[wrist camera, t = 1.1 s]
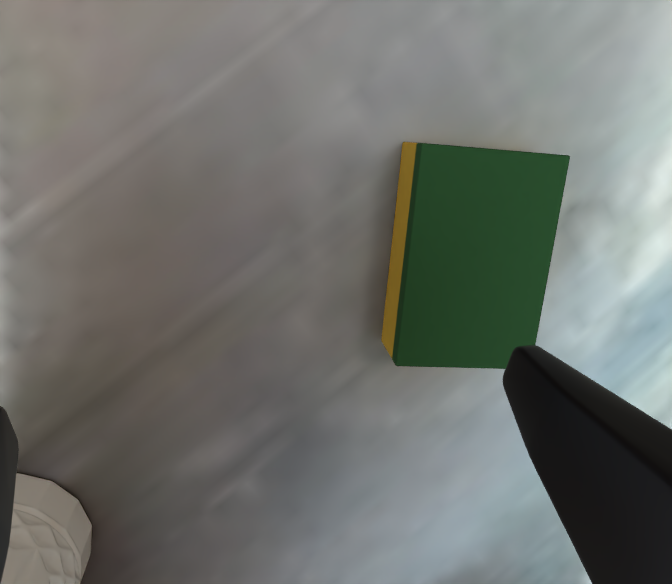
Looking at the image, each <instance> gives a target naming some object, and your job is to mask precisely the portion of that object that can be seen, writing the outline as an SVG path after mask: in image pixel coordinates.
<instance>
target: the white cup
mask: <svg viewBox="0 0 672 584" xmlns="http://www.w3.org/2000/svg"><path fill="white" fill-rule="evenodd" d="M91 538H92V524H91V522H90V521H89V519H88V517H87V515H86V513H85V511H84V510H83V508H82V506H81V504H80V502H79V500H78V499H76V498H75V497H74V496H72V495H71V494H70V493H68V492H67V491H65V490H64V489H62V488H61V487H60V486H58V485H57V484H55V483H54V482H53V481H50V480H46V479H41V478H37V477H33V476H29V475H24V474H20V473H16V483H15V493H14V503H13V514H12V524H11V533H10V542H9V547H8V553H7V558H6V563H5V567H4V572H3V576H2V580H1V584H80V583H81V580H82V577H83V574H84V571H85V569H86V566H87V563H88V560H89V557H90V554H91Z"/></svg>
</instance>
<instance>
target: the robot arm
mask: <svg viewBox="0 0 672 584" xmlns="http://www.w3.org/2000/svg"><path fill="white" fill-rule="evenodd" d="M503 386H504V389H505V392H506V395H507V397H508V400H509V403H510V406H511V408H512V411H513V414H514V416H515V419H516V422H517V424H518V427H519V430H520V433H521V435H522V438H523V441H524V443H525V446H526V448H527V451H528V453H529V456H530V458H531V460H532V462H533V464H534V467H535V469H536V471H537V473H538V475H539V477H540V479H541V481H542V483H543V485H544V487H545V489H546V491H547V493H548V495H549V497H550V499H551V501H552V503H553V505H554V507H555V509H556V511H557V513H558V515H559V517H560V519H561V521H562V523H563V525H564V527H565V529H566V531H567V533H568V535H569V537H570V539H571V541H572V543H573V545H574V547H575V549H576V552H577V554H578V556H579V558H580V560H581V562H582V564H583V566H584V568H585V570H586V572H587V574H588V576H589V578H590V580H591V582H592V584H672V430H671V429H670V428H668V427H667V426H665V425H663V424H662V423H660V422H659V421H657V420H655V419H654V418H652V417H651V416H649V415H647V414H646V413H644V412H643V411H641V410H639V409H638V408H636V407H635V406H633V405H631V404H630V403H628V402H627V401H625V400H623V399H622V398H620V397H619V396H617V395H615V394H614V393H612V392H611V391H609V390H607V389H606V388H604V387H603V386H601V385H599V384H598V383H596V382H595V381H593V380H591V379H590V378H588V377H587V376H585V375H583V374H582V373H580V372H579V371H577V370H575V369H574V368H572V367H571V366H569V365H567V364H566V363H564V362H563V361H561V360H559V359H558V358H556V357H555V356H553V355H551V354H550V353H548V352H547V351H545V350H543V349H542V348H540V347H538V346H536V345H527V346H519V347H516V348H515V349H514V350H513V352H512V354H511V356H510V359H509V362H508V364H507V367H506V369H505V372H504V375H503ZM17 462H18V440H17V437H16V434H15V432H14V429H13V427H12V424H11V422H10V420H9V417H8V415H7V412H6V411H5V409H4V408H3V407H1V406H0V584H1V580H2V576H3V572H4V567H5V563H6V558H7V553H8V547H9V542H10V533H11V524H12V514H13V503H14V493H15V483H16V472H17Z"/></svg>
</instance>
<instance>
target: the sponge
mask: <svg viewBox="0 0 672 584" xmlns="http://www.w3.org/2000/svg"><path fill="white" fill-rule="evenodd" d="M569 159H570V156H568V155H556V154H544V153H533V152H521V151H509V150H497V149H486V148H474V147H462V146H450V145H439V144H427V143H411V142H403V145H402V154H401V163H400V172H399V182H398V191H397V200H396V209H395V219H394V228H393V237H392V246H391V255H390V265H389V274H388V283H387V292H386V302H385V311H384V320H383V329H382V339H381V341H382V343H383V345H384V346H385V348H386V350H387V351H388V353H389V355H390V357H391V358H392V360H393V361H394V363H395V365H396V366H419V367H459V368H499V369H506V367H507V364H508V362H509V359H510V356H511V354H512V352H513V350H514V349H515V348H516V347H519V346H527V345H535V343H536V338H537V332H538V327H539V321H540V316H541V311H542V305H543V300H544V294H545V289H546V284H547V278H548V273H549V267H550V262H551V256H552V251H553V246H554V240H555V235H556V229H557V224H558V219H559V213H560V208H561V202H562V197H563V192H564V186H565V181H566V175H567V170H568V165H569Z"/></svg>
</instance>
